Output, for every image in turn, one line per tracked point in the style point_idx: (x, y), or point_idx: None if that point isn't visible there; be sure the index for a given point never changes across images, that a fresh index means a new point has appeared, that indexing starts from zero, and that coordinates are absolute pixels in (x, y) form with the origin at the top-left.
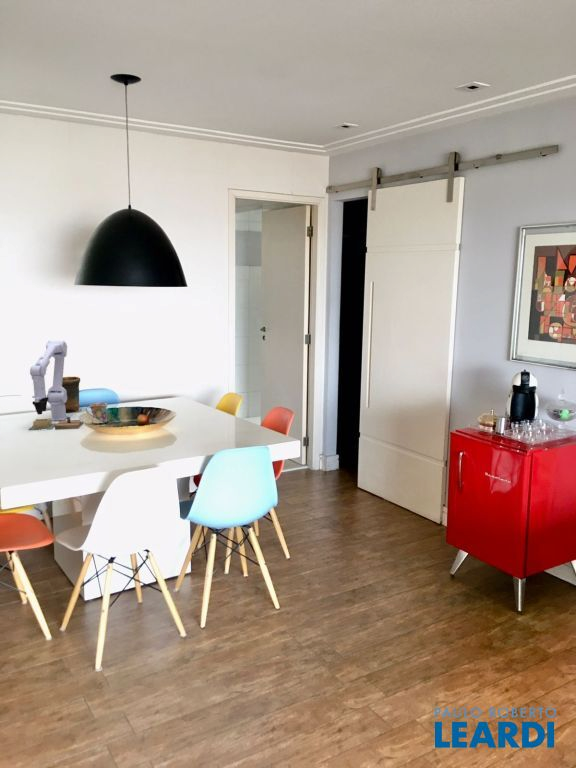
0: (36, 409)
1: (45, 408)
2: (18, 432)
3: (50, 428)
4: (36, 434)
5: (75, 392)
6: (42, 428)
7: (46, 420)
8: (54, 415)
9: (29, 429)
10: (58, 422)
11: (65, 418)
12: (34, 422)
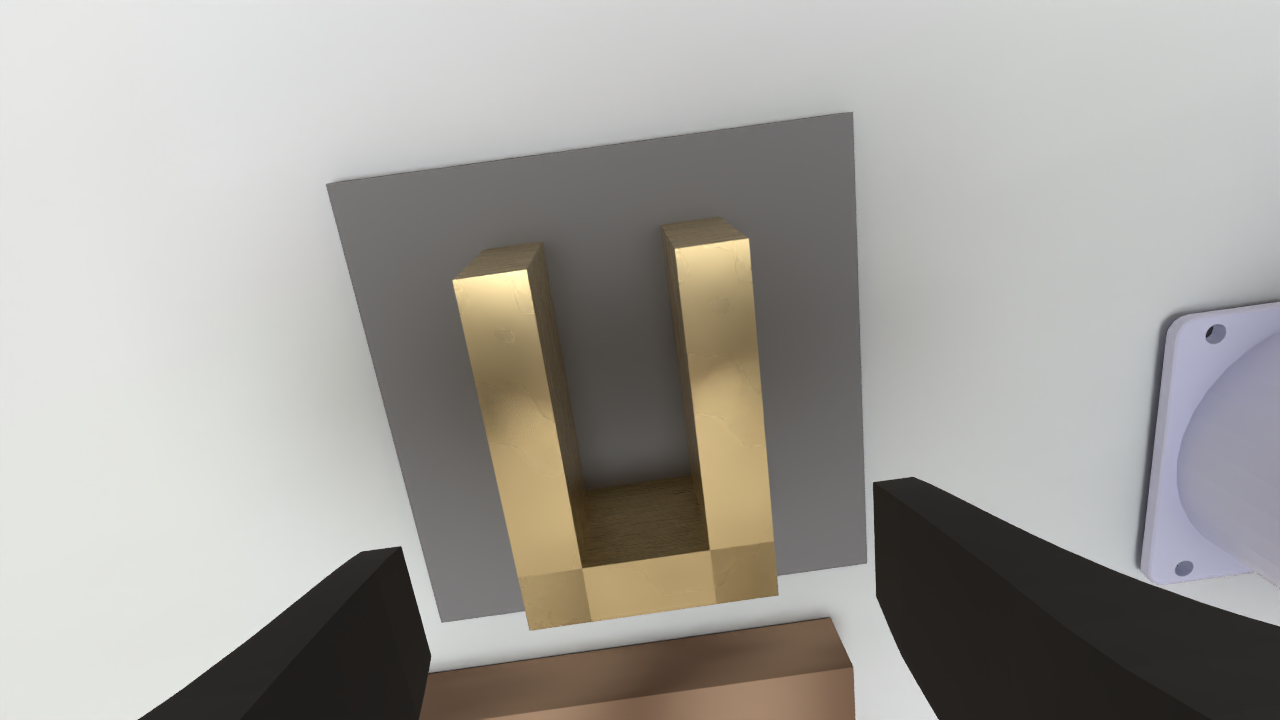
0: (210, 689)
1: (915, 673)
2: (106, 20)
3: (444, 602)
4: (21, 502)
5: None
6: (439, 458)
7: (572, 571)
8: (1273, 456)
9: (333, 212)
10: (697, 691)
11: (1244, 572)
12: (466, 307)
